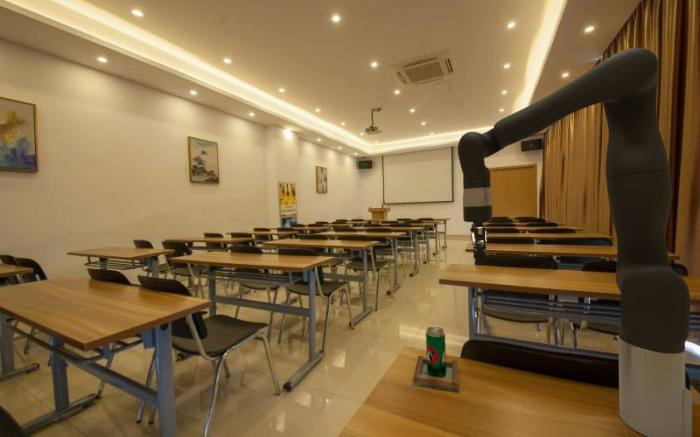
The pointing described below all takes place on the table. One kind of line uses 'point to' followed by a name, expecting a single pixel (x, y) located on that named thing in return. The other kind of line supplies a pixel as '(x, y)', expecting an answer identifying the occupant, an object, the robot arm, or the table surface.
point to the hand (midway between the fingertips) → (479, 261)
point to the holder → (442, 383)
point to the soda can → (436, 351)
